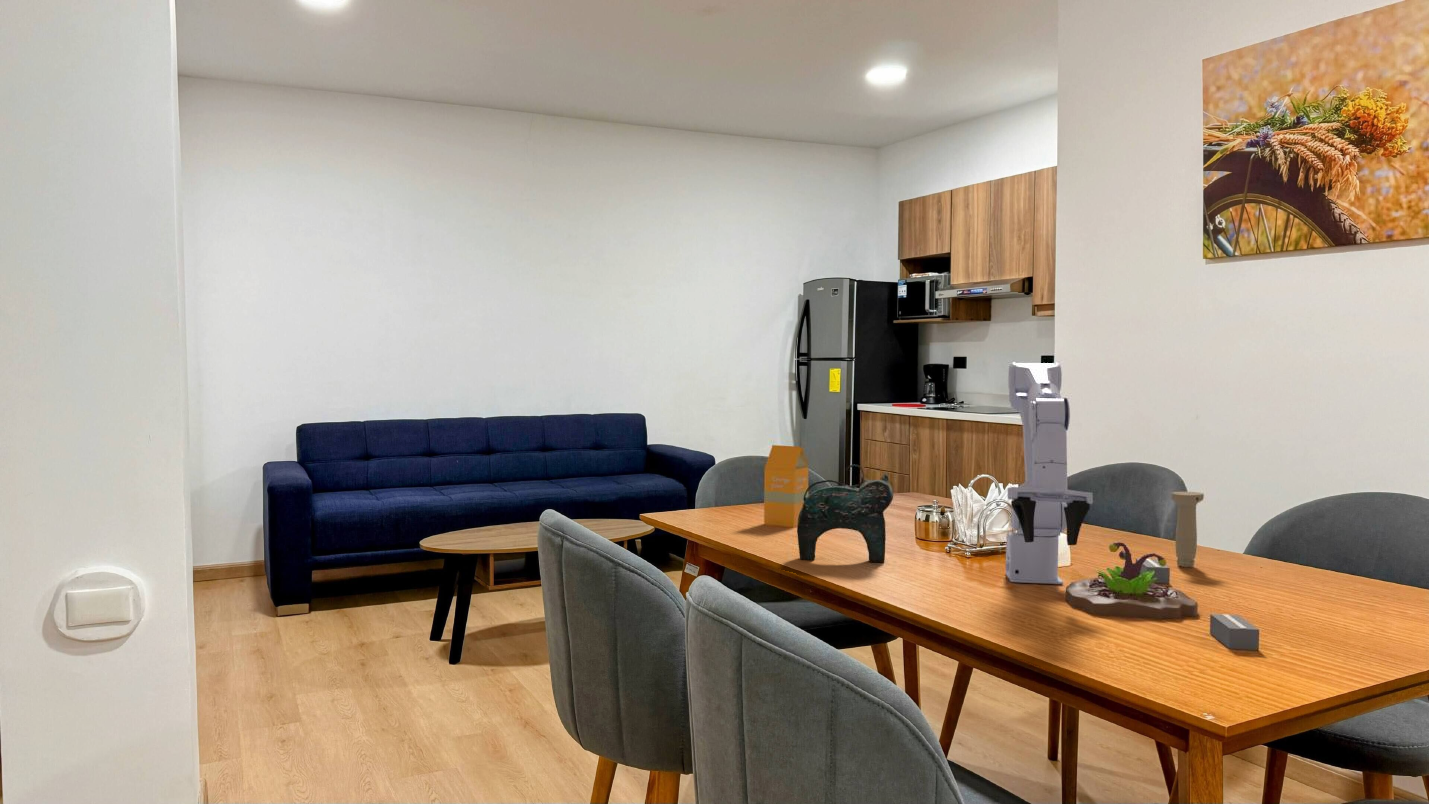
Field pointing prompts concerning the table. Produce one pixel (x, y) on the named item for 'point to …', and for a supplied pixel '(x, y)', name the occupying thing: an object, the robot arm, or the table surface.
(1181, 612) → the plant
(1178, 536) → the handle
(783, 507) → the orange juice
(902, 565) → the table surface
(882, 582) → the table surface
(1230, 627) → the grey blocks
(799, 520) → the ceramic cat
